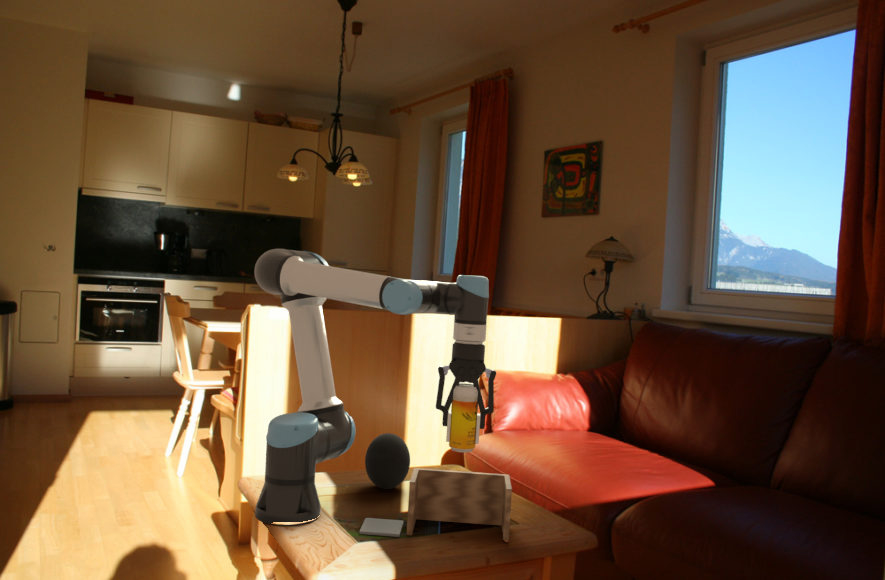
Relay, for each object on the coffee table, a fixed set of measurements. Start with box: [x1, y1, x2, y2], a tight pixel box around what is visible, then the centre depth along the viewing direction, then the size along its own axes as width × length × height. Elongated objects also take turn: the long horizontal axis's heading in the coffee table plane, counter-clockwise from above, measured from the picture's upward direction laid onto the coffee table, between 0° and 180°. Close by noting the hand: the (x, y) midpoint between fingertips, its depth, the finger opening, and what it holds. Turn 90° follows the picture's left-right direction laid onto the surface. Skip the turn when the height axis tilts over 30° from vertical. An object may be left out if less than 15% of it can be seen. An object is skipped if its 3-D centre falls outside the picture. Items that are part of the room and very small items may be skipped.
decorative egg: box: [364, 432, 411, 490], centre depth 190 cm, size 12×12×15 cm
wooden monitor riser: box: [406, 467, 513, 541], centre depth 161 cm, size 23×12×12 cm, turn 87°
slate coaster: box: [358, 517, 404, 538], centre depth 159 cm, size 9×9×1 cm
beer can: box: [448, 382, 479, 453], centre depth 160 cm, size 6×6×15 cm
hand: (462, 441), depth 160 cm, fingers closed on beer can, 6 cm apart
